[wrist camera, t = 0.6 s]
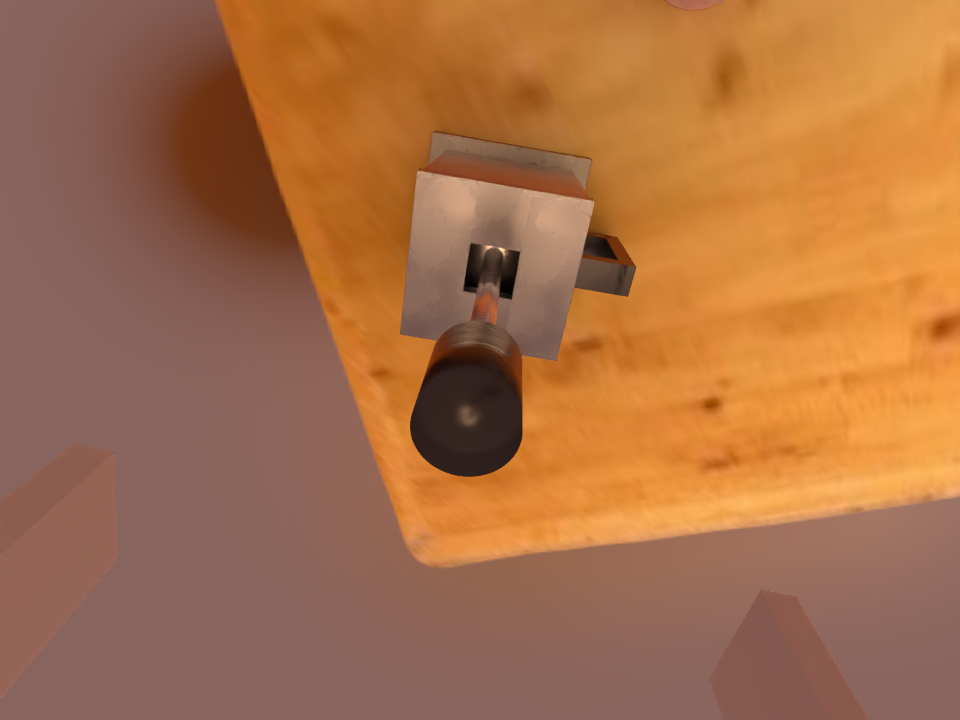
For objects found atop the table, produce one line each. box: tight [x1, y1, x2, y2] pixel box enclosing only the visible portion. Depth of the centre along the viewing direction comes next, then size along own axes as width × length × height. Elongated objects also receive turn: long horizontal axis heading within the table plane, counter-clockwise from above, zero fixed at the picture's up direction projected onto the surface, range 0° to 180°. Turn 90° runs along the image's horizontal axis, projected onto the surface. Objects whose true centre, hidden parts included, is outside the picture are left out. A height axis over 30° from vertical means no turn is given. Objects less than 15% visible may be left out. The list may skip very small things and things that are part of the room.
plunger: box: [410, 243, 522, 477], centre depth 28 cm, size 8×8×22 cm
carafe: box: [400, 131, 636, 361], centre depth 40 cm, size 15×12×14 cm
